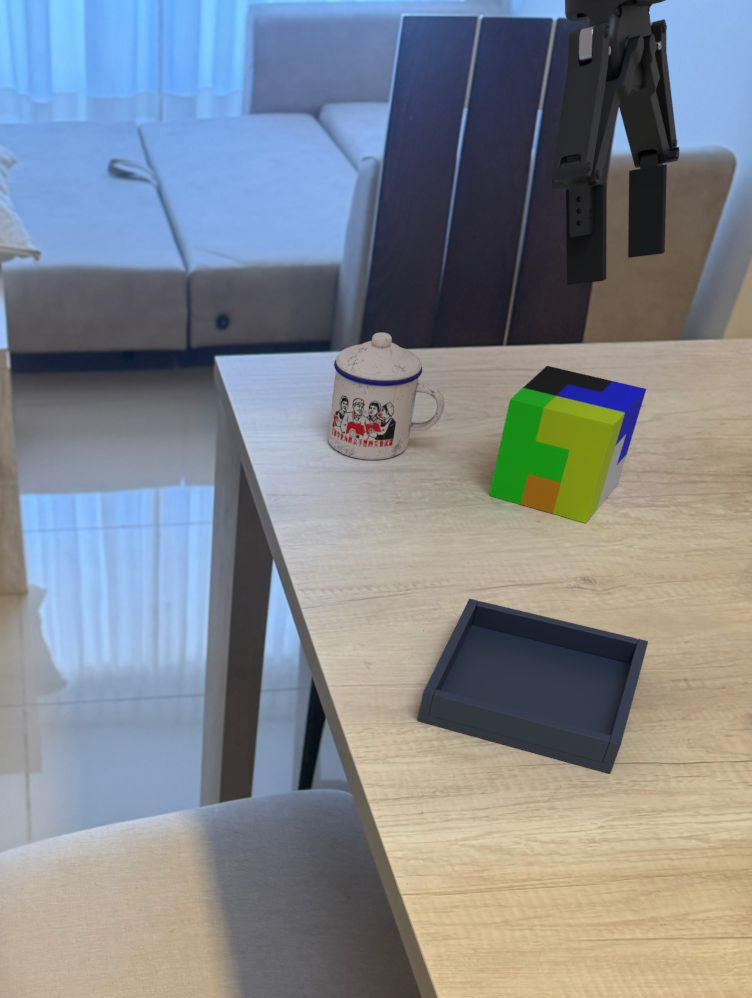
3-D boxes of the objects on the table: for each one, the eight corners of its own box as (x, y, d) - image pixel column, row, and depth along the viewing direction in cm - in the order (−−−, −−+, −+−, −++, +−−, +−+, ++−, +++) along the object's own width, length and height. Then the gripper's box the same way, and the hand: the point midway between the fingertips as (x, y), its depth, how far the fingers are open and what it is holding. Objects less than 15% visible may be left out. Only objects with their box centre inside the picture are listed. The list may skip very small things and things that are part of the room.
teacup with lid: (315, 453, 124) (327, 343, 116) (338, 419, 130) (350, 314, 122) (425, 473, 120) (445, 362, 112) (443, 438, 127) (464, 330, 119)
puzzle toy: (618, 483, 119) (646, 388, 112) (585, 523, 113) (613, 425, 106) (524, 458, 123) (546, 365, 116) (489, 495, 117) (510, 399, 110)
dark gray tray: (638, 669, 95) (648, 640, 93) (610, 774, 85) (620, 744, 83) (463, 625, 99) (469, 598, 97) (417, 720, 89) (422, 691, 88)
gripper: (626, -38, 92) (623, 250, 102) (497, -43, 76) (508, 300, 86) (727, -66, 88) (714, 239, 97) (612, -78, 72) (610, 289, 81)
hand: (617, 268), depth 92 cm, fingers open, 13 cm apart
